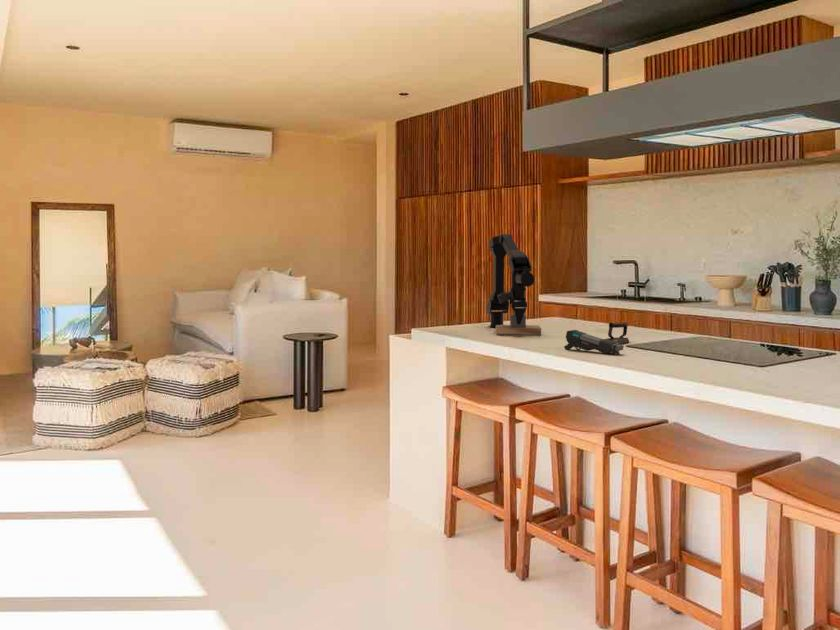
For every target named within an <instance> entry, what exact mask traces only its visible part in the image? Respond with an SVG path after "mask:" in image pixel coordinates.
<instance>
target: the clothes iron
mask: <svg viewBox="0 0 840 630" xmlns="http://www.w3.org/2000/svg"><path fill="white" fill-rule="evenodd" d="M628 326H629V324H628V322H609V323H608V333H607V336H608V337H607V338H606V339H607V340H610V341H613V342H617V343H618V344H621V345H624V346H625V345H628V344H630V340H629V337H626V336H627V333H628ZM616 328H617V329H618V328H622V329H623V332H622V334H621V335H619V336H618V337H614V336H613V335H612V334H613V329H616Z"/></svg>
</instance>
